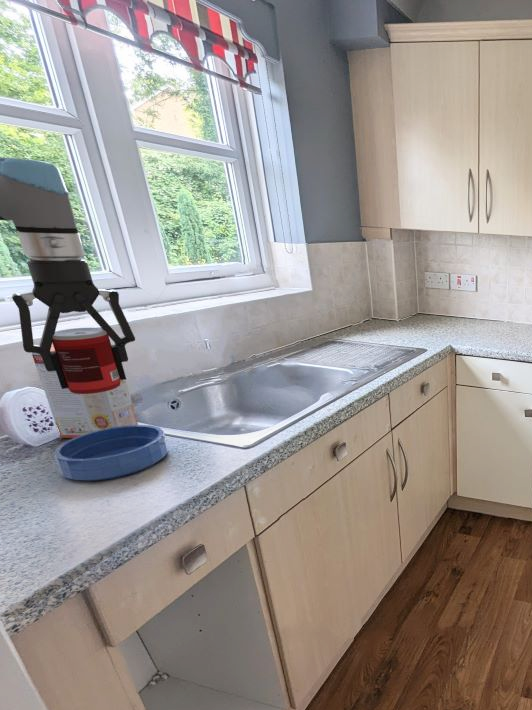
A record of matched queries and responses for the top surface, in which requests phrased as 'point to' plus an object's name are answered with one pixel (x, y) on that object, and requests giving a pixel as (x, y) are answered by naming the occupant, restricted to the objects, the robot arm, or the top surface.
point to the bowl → (111, 452)
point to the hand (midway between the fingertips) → (94, 382)
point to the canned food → (86, 360)
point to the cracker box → (85, 405)
